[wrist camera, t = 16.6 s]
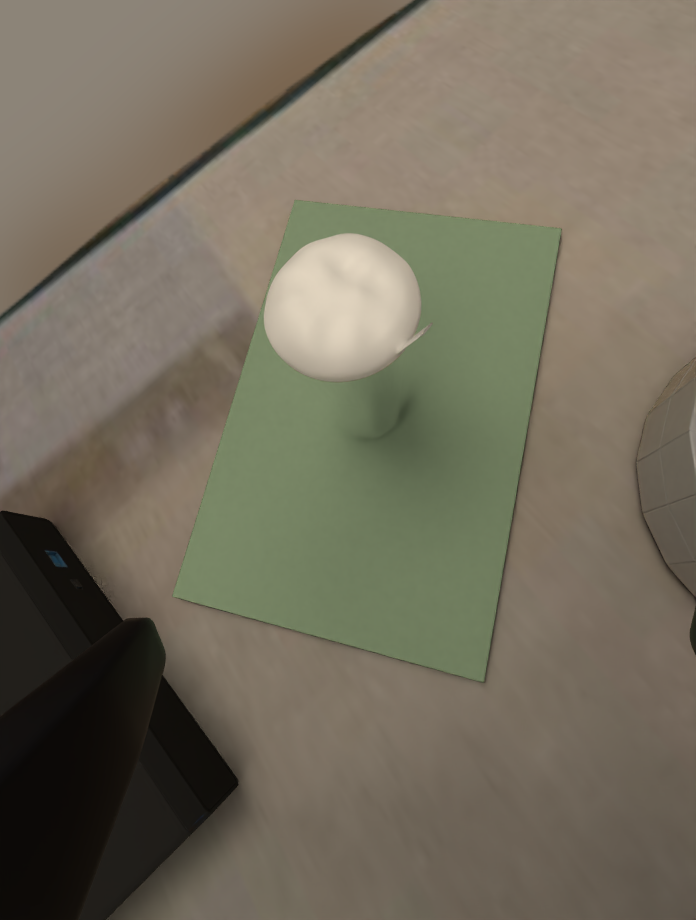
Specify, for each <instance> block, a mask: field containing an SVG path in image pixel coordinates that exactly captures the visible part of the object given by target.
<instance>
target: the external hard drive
mask: <svg viewBox="0 0 696 920" xmlns="http://www.w3.org/2000/svg"><path fill="white" fill-rule="evenodd" d="M121 622H123V620H122V619H121V618H120V616H119V615H118V613H117V612H116V611H115V609H114V608H113V606H112V605H111V604H110V602H109V601H108V600H107V598H106V597H105V595H104V594H103V593H102V591H101V590H100V588H99V587H98V586H97V584H96V583H95V582H94V580H93V579H92V577H91V576H90V575H89V573H88V572H87V570H86V569H85V568H84V566H83V565H82V564H81V562H80V561H79V559H78V558H77V557H76V555H75V554H74V552H73V551H72V550H71V548H70V547H69V546H68V544H67V543H66V541H65V540H64V539H63V537H62V536H61V535H60V533H59V532H58V530H57V529H56V528H55V526H54V525H53V524H52V523H51V522H50V521H49V520H47V519H43V518H38V517H33V516H28V515H23V514H18V513H13V512H8V511H1V512H0V716H1V715H2V714H4V713H5V712H6V711H7V710H9V709H10V708H11V707H13V706H14V705H15V704H16V703H18V702H19V701H20V700H22V699H23V698H24V697H26V696H27V695H28V694H29V693H31V692H32V691H33V690H35V689H36V688H37V687H39V686H40V685H41V684H42V683H44V682H45V681H46V680H48V679H49V678H50V677H51V676H53V675H54V674H55V673H57V672H58V671H59V670H61V669H62V668H63V667H64V666H66V665H67V664H68V663H70V662H71V661H72V660H73V659H75V658H76V657H77V656H79V655H80V654H81V653H83V652H84V651H85V650H86V649H88V648H89V647H90V646H92V645H93V644H94V643H96V642H97V641H98V640H99V639H101V638H102V637H103V636H105V635H106V634H107V633H108V632H110V631H111V630H112V629H114V628H115V627H116V626H118V625H119V624H120V623H121ZM237 786H238V780H237V778H236V777H235V775H234V774H233V772H232V771H231V770H230V768H229V767H228V766H227V764H226V763H225V761H224V760H223V759H222V757H221V756H220V754H219V753H218V752H217V750H216V749H215V748H214V746H213V745H212V743H211V742H210V741H209V739H208V738H207V736H206V735H205V734H204V732H203V731H202V730H201V728H200V727H199V725H198V724H197V723H196V721H195V720H194V718H193V717H192V716H191V714H190V713H189V712H188V710H187V709H186V707H185V706H184V705H183V703H182V702H181V701H180V699H179V698H178V696H177V695H176V694H175V692H174V691H173V689H172V688H171V687H170V685H169V684H168V683H167V681H166V680H165V678H164V677H163V676H162V677H161V681H160V684H159V688H158V692H157V696H156V699H155V703H154V707H153V711H152V714H151V718H150V722H149V726H148V729H147V733H146V737H145V740H144V744H143V747H142V750H141V753H140V756H139V759H138V762H137V765H136V768H135V770H134V773H133V776H132V778H131V781H130V784H129V786H128V789H127V792H126V794H125V797H124V800H123V802H122V805H121V808H120V810H119V813H118V816H117V818H116V821H115V824H114V826H113V829H112V832H111V834H110V837H109V840H108V843H107V845H106V848H105V851H104V853H103V856H102V859H101V861H100V864H99V867H98V869H97V872H96V875H95V877H94V880H93V883H92V885H91V888H90V891H89V893H88V896H87V899H86V901H85V904H84V907H83V909H82V912H81V915H80V917H79V920H106V919H107V918H108V917H109V916H110V915H111V914H112V913H113V912H114V911H115V910H116V909H117V908H118V907H119V906H120V905H121V904H122V903H123V902H124V901H125V900H126V899H127V898H128V897H129V896H130V895H131V894H132V893H133V892H134V891H135V890H136V889H137V888H138V887H139V886H140V885H141V884H142V883H143V882H144V881H145V880H146V879H147V878H148V877H149V876H150V875H151V874H152V873H153V872H154V871H155V870H156V869H157V868H158V867H159V866H160V865H161V864H162V863H163V862H164V861H165V860H166V859H167V858H168V857H169V856H170V855H171V854H172V853H173V852H174V851H175V850H176V849H177V848H178V847H179V846H180V845H181V844H182V843H183V842H184V841H185V840H186V839H187V838H188V837H189V836H190V835H191V834H192V833H193V832H194V831H195V830H196V829H197V828H198V827H199V826H200V825H201V824H202V823H203V822H204V821H205V820H206V819H207V818H208V817H209V816H210V815H211V814H212V813H213V812H214V811H215V810H216V809H217V808H218V806H219V805H220V804H221V803H222V802H223V801H224V800H225V799H226V798H227V797H228V796H229V795H230V794H231V793H232V792H233V791H234V790H235V788H236V787H237Z"/></svg>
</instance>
